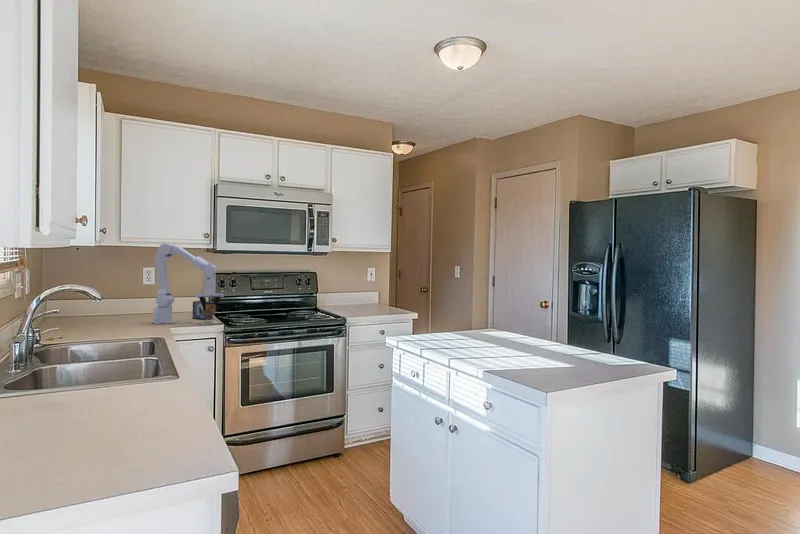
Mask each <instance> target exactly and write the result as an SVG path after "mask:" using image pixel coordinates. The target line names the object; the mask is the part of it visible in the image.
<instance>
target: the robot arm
mask: <svg viewBox="0 0 800 534" xmlns="http://www.w3.org/2000/svg"><path fill="white" fill-rule="evenodd" d="M173 255H179V256H181V257H183V258H184V259H186V260H188V261H190V262H191V265H192V266H194V267H195V268H197V269H198V270H200V271H202V272H203V274H204V287H203V288H204V291H203V292H204V293H196V294H195V298H196V299H199V301H201V304H202V307H203V311H205V303H206V301H207V298H213V304H214V305H216V308H215V312H216V310H217V308H218V305H219V302H220V300H221V298H224V297H225V296H224V295H225V294H224V293H216V287H217V286H216V284H217V283H216V278H217V275H216V273H217V272H218V267H217V266H216V264H213V263H211V262H210V261H207V260H205V259H204V257H202V256H195V255H193V254H192V253H191V252H189V251H187V250H186V249H185V248H183V247H181V246H180V245H177V244H176V243H173V242H163V243H161V244H160V245H159V246H158V247H157V252H156V254H155V257H154V262H155V269H156V270H155V271H156V278H157V286H158V291H157V292H156V299H155V303H156V306H154V307H153V309H152V323H153V324H156V325H157V324H174V321H173V303H174V302H175V297H174V296H173V293H172V291H171V289H170V284H169V283H170V282H169V278H168V277H169V276H168V268H167V260H168V259H169V258H170V257H171V256H173Z"/></svg>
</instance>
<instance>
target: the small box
mask: <svg viewBox="0 0 800 534" xmlns="http://www.w3.org/2000/svg"><path fill="white" fill-rule="evenodd" d="M205 304H214V301H210V300H208V301H207V300H206V303H205ZM192 319H193V320H194V319H195V320H202V321H210V320H213V314H204V311H203V307H202V304H201V301H200V300H193V301H192Z"/></svg>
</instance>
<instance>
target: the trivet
mask: <svg viewBox="0 0 800 534" xmlns="http://www.w3.org/2000/svg"><path fill="white" fill-rule="evenodd" d="M198 323H199V324H200V325H202V326H210V325H211V326H212V325H220V324H221V323H220V322H219V321H217V320H202V321H198Z"/></svg>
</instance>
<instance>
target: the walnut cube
mask: <svg viewBox="0 0 800 534" xmlns="http://www.w3.org/2000/svg"><path fill="white" fill-rule="evenodd" d="M215 308H216V305H214V303H213V304H205V311H204V314H212V315H216V311H215ZM216 309H217V308H216Z"/></svg>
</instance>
